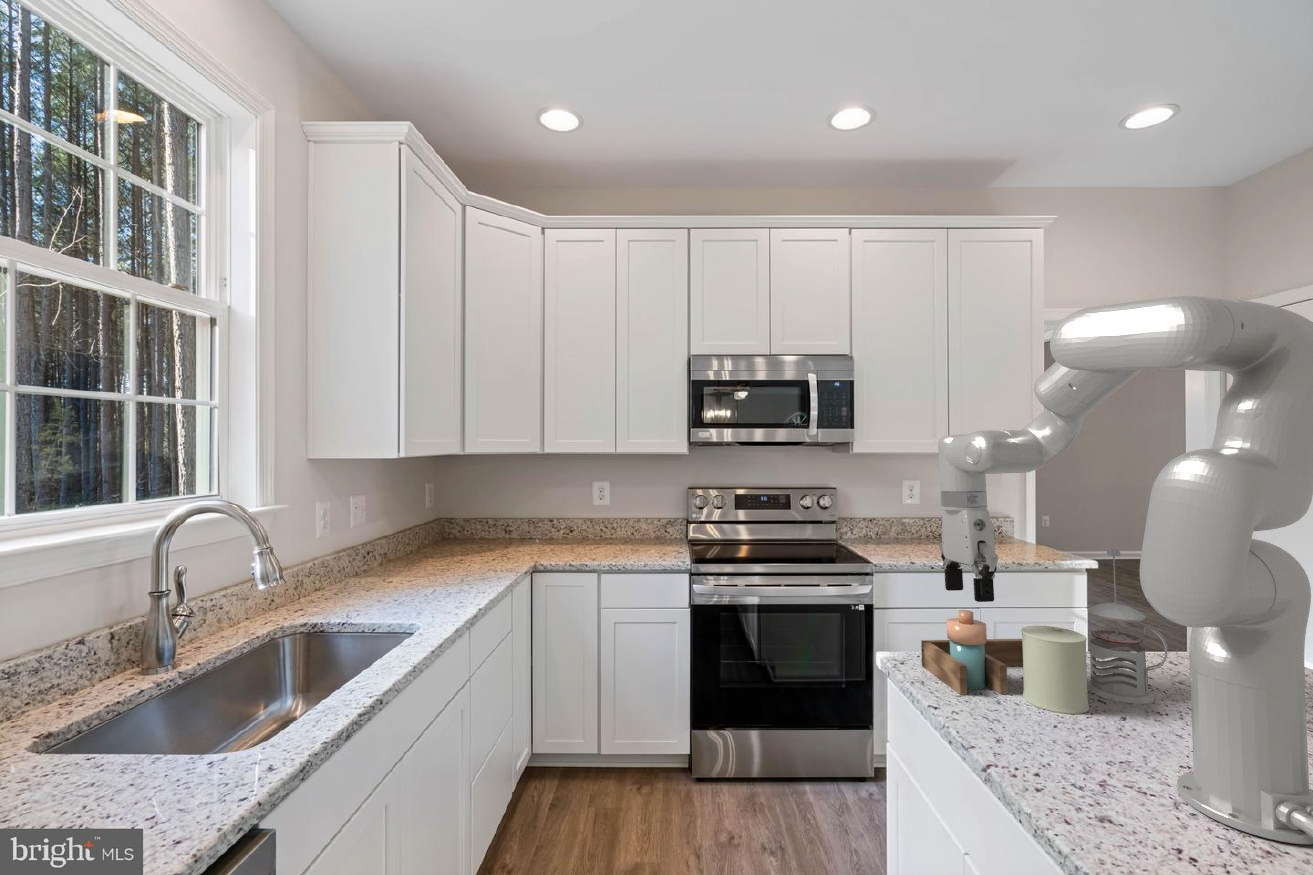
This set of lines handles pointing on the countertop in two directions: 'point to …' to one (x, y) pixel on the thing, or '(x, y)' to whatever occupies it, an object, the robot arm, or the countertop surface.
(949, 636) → the lid
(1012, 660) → the caddy
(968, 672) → the jar
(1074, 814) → the countertop surface
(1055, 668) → the can
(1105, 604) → the french press
